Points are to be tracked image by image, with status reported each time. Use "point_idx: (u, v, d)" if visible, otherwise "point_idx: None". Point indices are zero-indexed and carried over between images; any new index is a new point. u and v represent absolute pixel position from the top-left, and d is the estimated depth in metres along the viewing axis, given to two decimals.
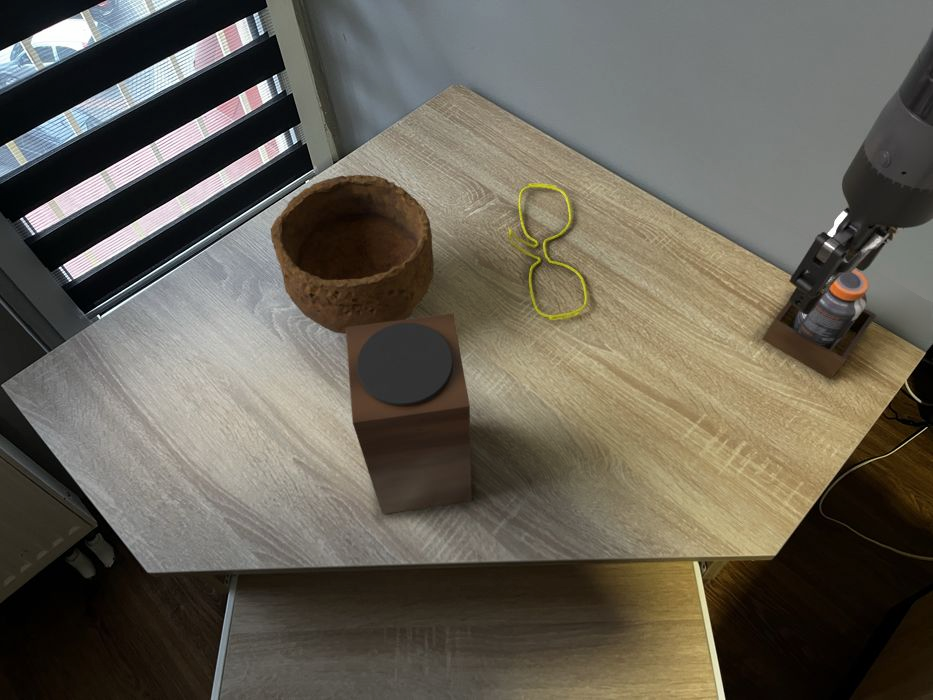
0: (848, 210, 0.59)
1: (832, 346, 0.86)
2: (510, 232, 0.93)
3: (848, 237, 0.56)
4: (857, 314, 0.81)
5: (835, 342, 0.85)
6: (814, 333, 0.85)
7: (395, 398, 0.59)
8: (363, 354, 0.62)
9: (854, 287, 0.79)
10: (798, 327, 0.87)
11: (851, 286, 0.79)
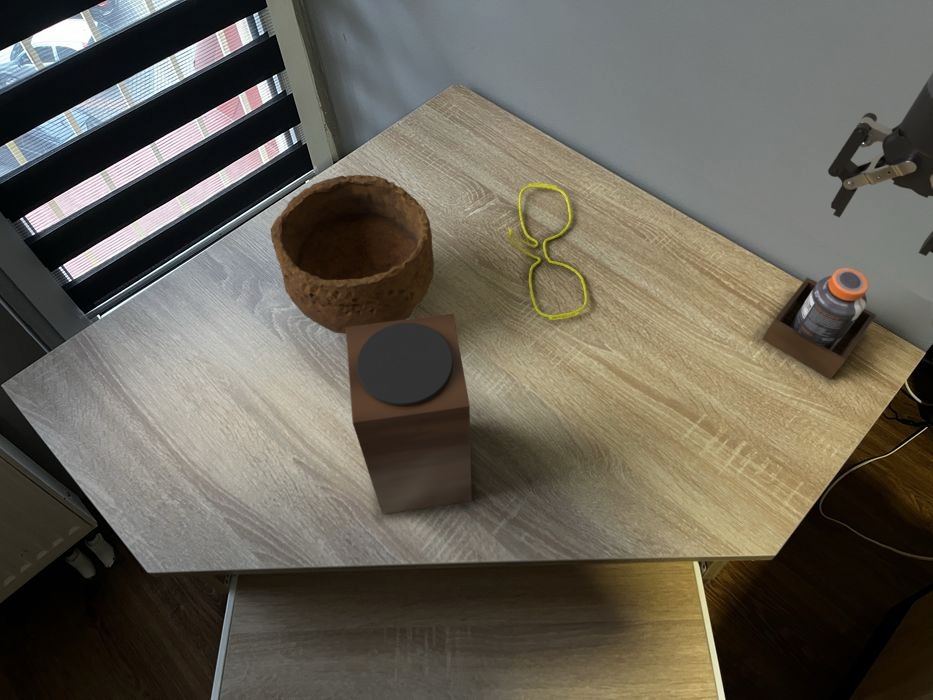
0: None
1: (832, 346, 0.86)
2: (510, 232, 0.93)
3: (882, 131, 0.62)
4: (857, 314, 0.81)
5: (835, 342, 0.85)
6: (814, 333, 0.85)
7: (395, 398, 0.59)
8: (363, 354, 0.62)
9: (854, 287, 0.79)
10: (798, 327, 0.87)
11: (851, 286, 0.79)
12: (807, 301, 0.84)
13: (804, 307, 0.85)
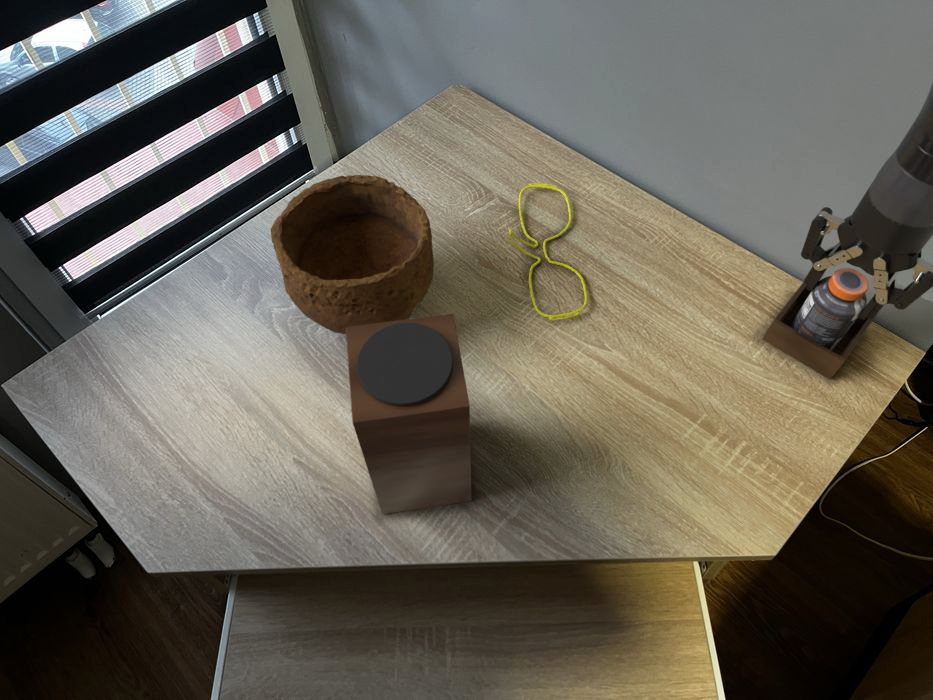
0: None
1: (832, 346, 0.86)
2: (510, 232, 0.93)
3: (835, 221, 0.76)
4: (857, 314, 0.81)
5: (835, 342, 0.85)
6: (814, 333, 0.85)
7: (395, 398, 0.59)
8: (363, 354, 0.62)
9: (854, 287, 0.79)
10: (798, 327, 0.87)
11: (851, 286, 0.79)
12: (807, 301, 0.84)
13: (804, 307, 0.85)
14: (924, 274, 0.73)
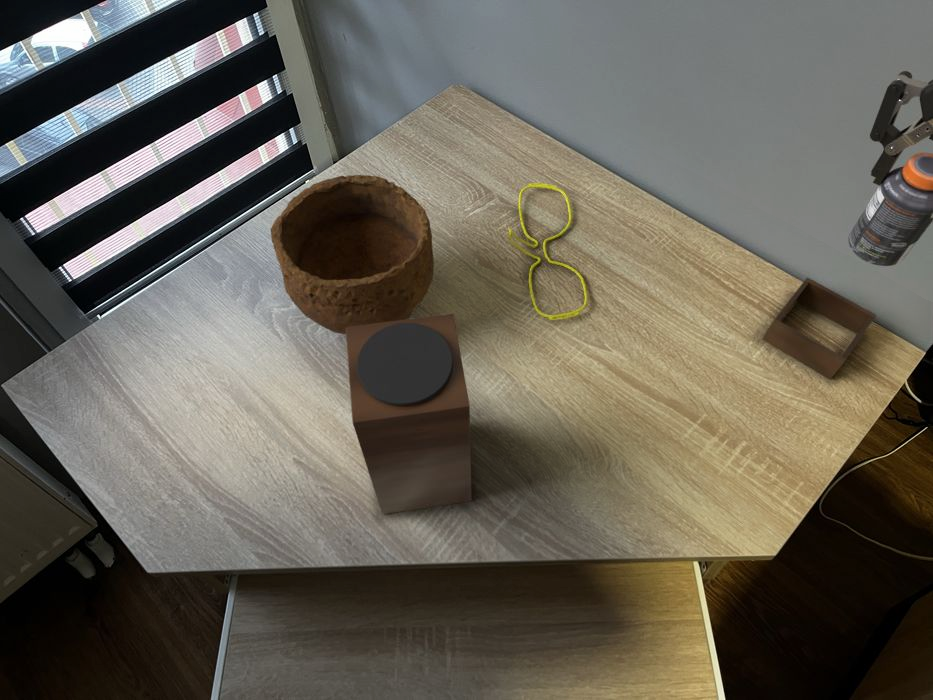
0: None
1: (902, 256, 0.72)
2: (510, 232, 0.93)
3: (917, 85, 0.62)
4: None
5: (907, 249, 0.71)
6: (882, 238, 0.70)
7: (395, 398, 0.59)
8: (363, 354, 0.62)
9: None
10: (861, 233, 0.72)
11: None
12: (874, 198, 0.70)
13: (870, 207, 0.71)
14: None
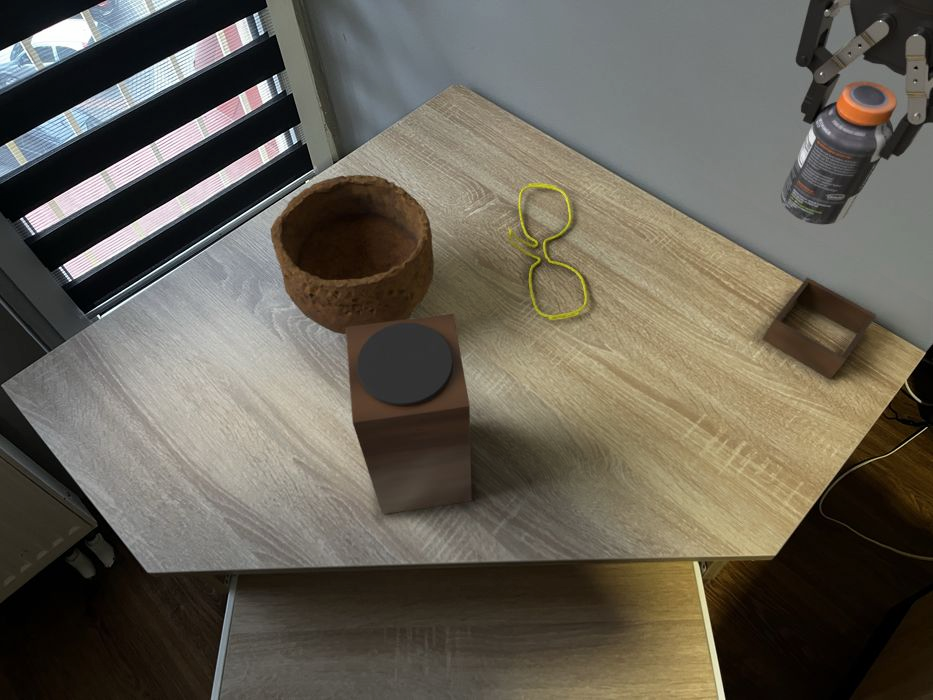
0: None
1: (842, 211, 0.60)
2: (510, 232, 0.93)
3: None
4: (879, 150, 0.55)
5: (846, 203, 0.59)
6: (815, 188, 0.58)
7: (395, 398, 0.59)
8: (363, 354, 0.62)
9: (875, 104, 0.53)
10: (793, 184, 0.60)
11: (871, 102, 0.53)
12: (806, 140, 0.58)
13: (801, 151, 0.59)
14: None
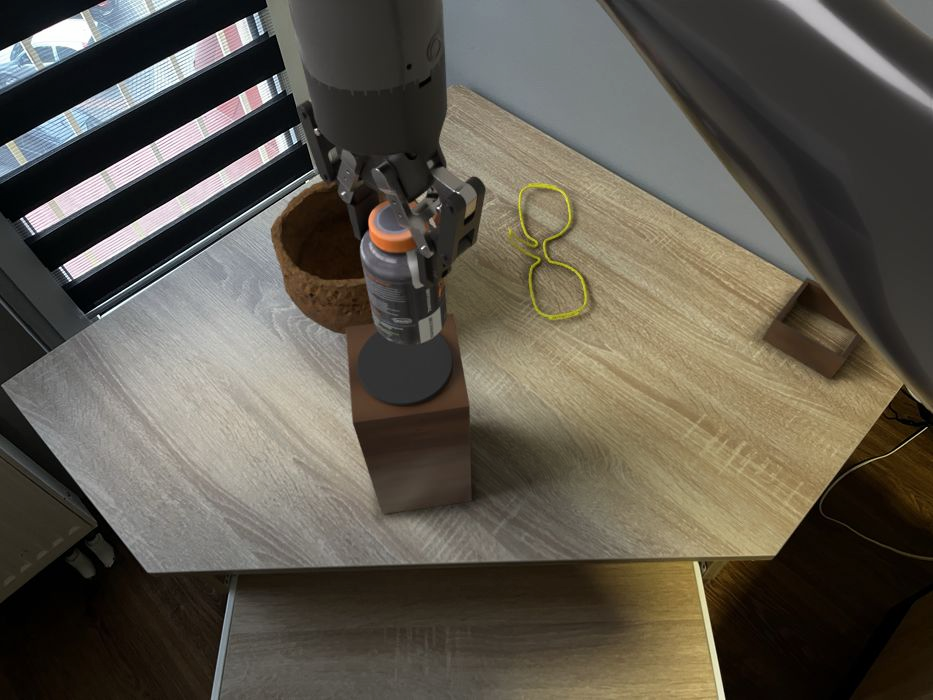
0: None
1: (422, 333, 0.53)
2: (510, 232, 0.93)
3: None
4: (418, 277, 0.48)
5: (420, 325, 0.53)
6: (380, 311, 0.52)
7: (395, 398, 0.59)
8: (363, 354, 0.62)
9: (396, 229, 0.46)
10: None
11: (392, 227, 0.46)
12: None
13: None
14: None
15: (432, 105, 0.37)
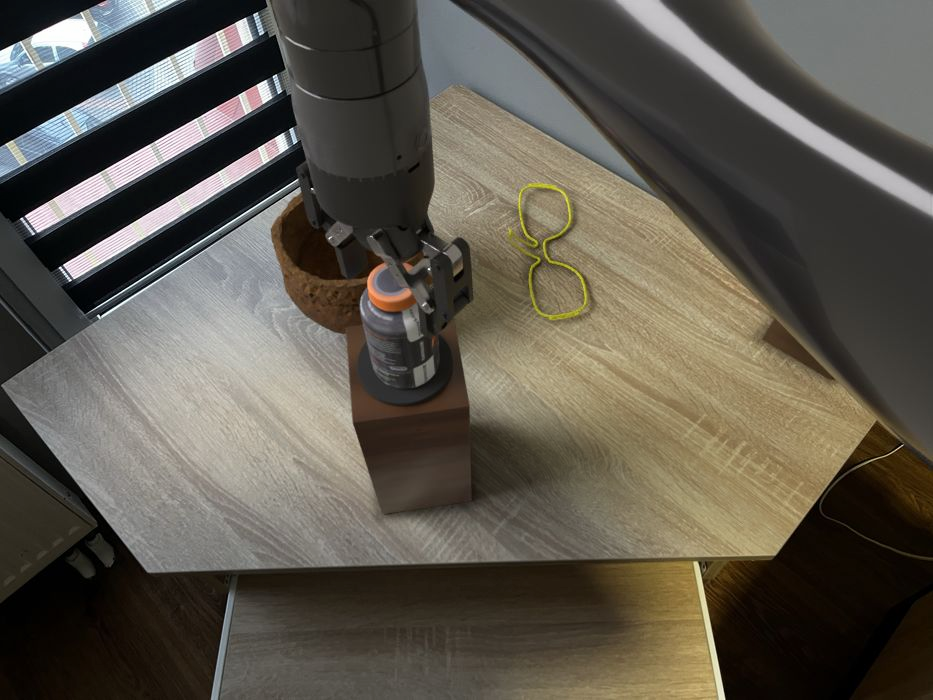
0: None
1: (417, 378, 0.58)
2: (510, 232, 0.93)
3: None
4: (412, 332, 0.53)
5: (415, 372, 0.57)
6: (378, 359, 0.57)
7: (395, 398, 0.59)
8: (363, 354, 0.62)
9: (392, 291, 0.51)
10: None
11: (389, 289, 0.51)
12: None
13: None
14: None
15: (420, 185, 0.41)
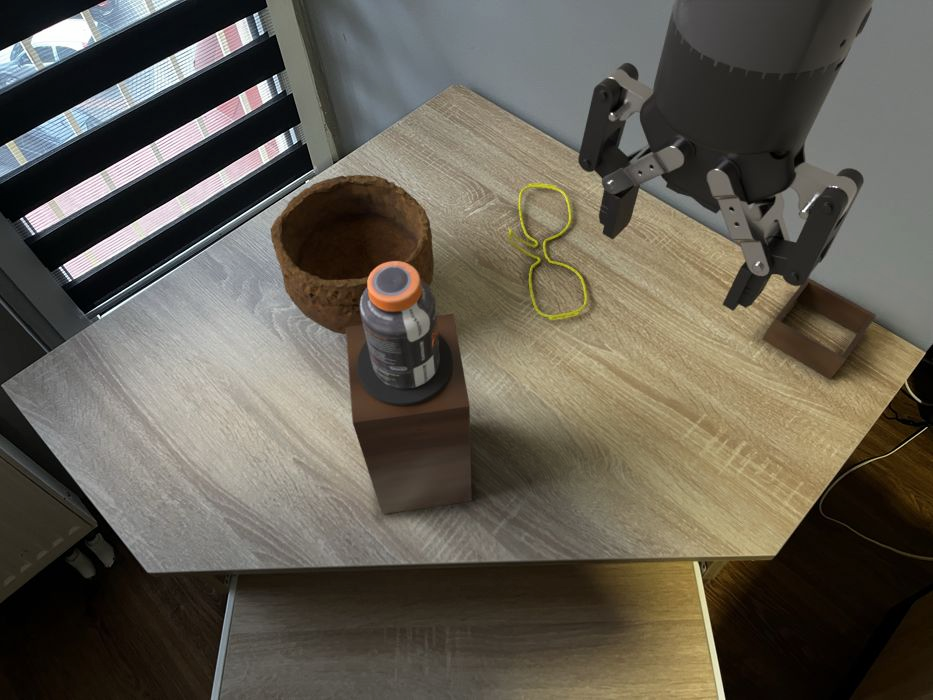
0: None
1: (417, 378, 0.58)
2: (510, 232, 0.93)
3: (638, 94, 0.36)
4: (412, 332, 0.53)
5: (415, 372, 0.57)
6: (378, 359, 0.57)
7: (395, 398, 0.59)
8: (363, 354, 0.62)
9: (392, 291, 0.51)
10: None
11: (389, 289, 0.51)
12: None
13: None
14: (817, 196, 0.33)
15: (828, 92, 0.30)
